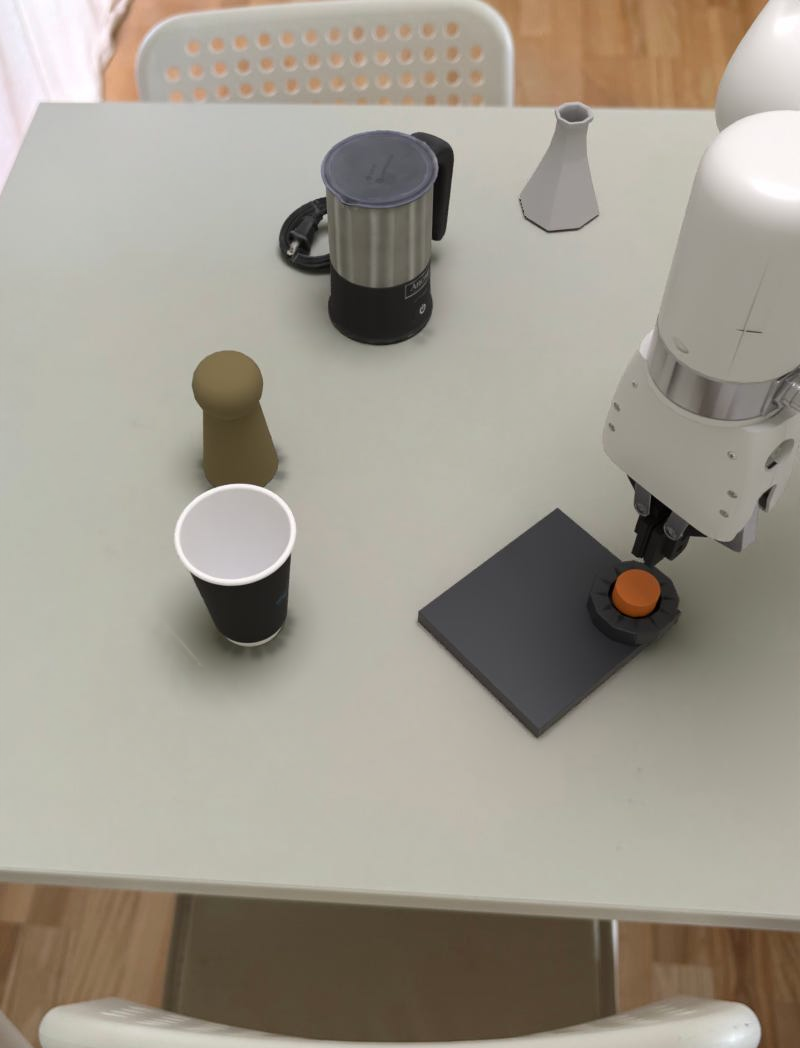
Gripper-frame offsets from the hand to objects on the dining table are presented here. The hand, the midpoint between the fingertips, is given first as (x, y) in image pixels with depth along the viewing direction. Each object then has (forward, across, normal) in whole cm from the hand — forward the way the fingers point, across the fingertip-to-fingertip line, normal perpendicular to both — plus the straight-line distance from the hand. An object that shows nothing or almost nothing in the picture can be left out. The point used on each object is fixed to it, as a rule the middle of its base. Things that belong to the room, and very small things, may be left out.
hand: (656, 549), depth 72 cm
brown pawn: (+8, +30, +13) cm, 33 cm away
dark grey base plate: (+8, +4, +5) cm, 10 cm away
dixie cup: (+8, +18, +21) cm, 29 cm away
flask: (+9, +34, -28) cm, 45 cm away
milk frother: (+9, +40, -7) cm, 41 cm away
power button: (+6, 0, +1) cm, 6 cm away
